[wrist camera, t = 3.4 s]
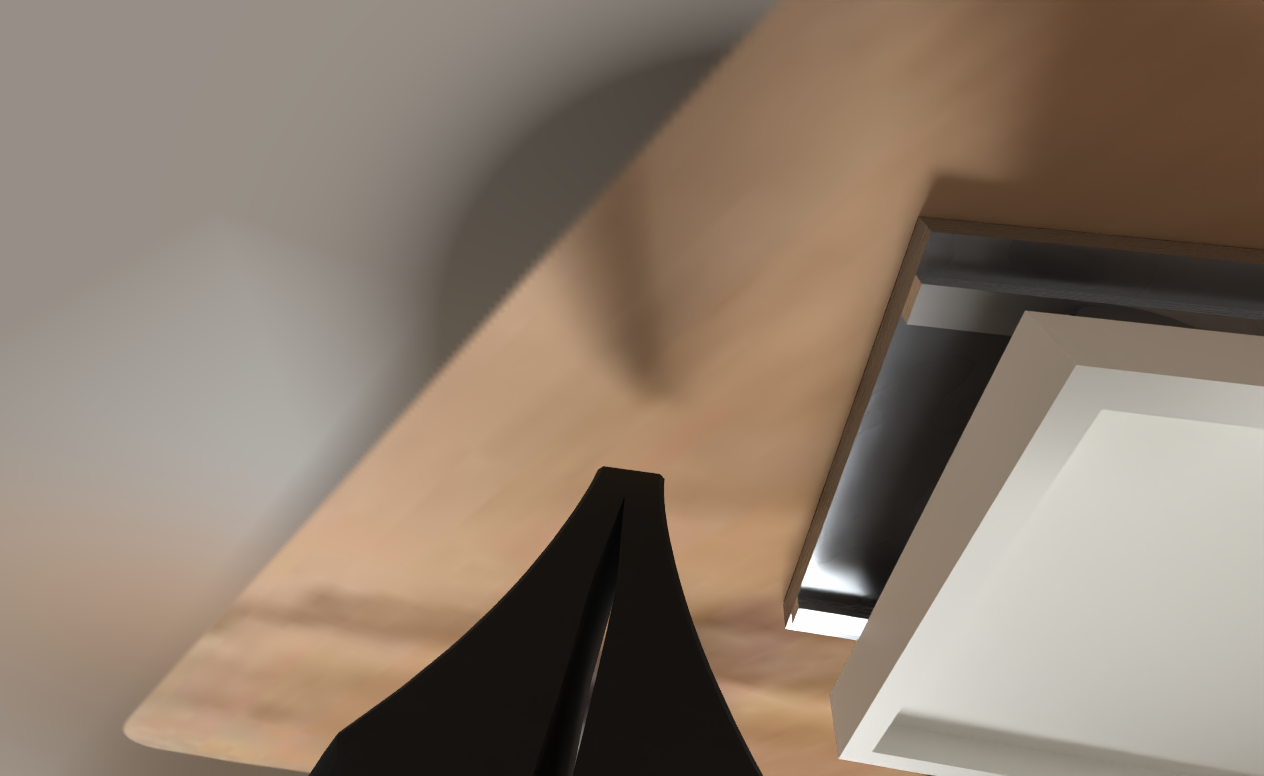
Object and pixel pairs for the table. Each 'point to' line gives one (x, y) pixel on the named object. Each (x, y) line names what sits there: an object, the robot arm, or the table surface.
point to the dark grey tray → (976, 376)
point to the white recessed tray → (1081, 568)
